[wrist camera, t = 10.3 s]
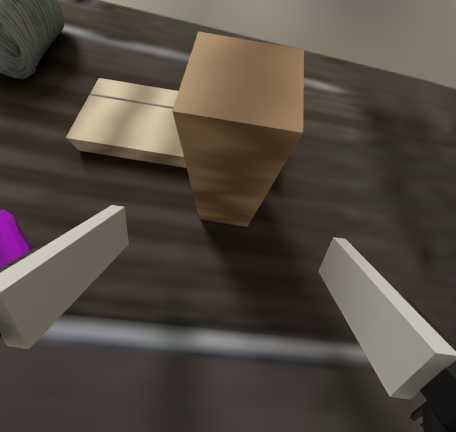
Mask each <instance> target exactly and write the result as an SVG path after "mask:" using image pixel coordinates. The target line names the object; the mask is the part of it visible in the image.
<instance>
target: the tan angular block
mask: <svg viewBox="0 0 456 432" xmlns="http://www.w3.org/2000/svg"><path fill="white" fill-rule="evenodd" d="M303 88H304V50H303V49H297V48H291V47H285V46H279V45H274V44H268V43H262V42H256V41H250V40H244V39H239V38H233V37H227V36H221V35H215V34H209V33H203V32H198V35H197V38H196V41H195V44H194V47H193V50H192V53H191V56H190V59H189V62H188V65H187V68H186V71H185V74H184V77H183V80H182V83H181V86H180V89H179V92H178V95H177V98H176V101H175V104H174V107H173V110H172V112H173V116H174V120H175V124H176V128H177V132H178V136H179V139H180V143H181V147H182V151H183V155H184V159H185V163H186V167H187V171H188V175H189V179H190V183H191V187H192V191H193V195H194V199H195V203H196V207H197V211H198V214H199V218H200V219H201V220H207V221H213V222H220V223H226V224H232V225H239V226H245V227H248V225H249V223H250V222H251V220H252V218H253V216H254V215H255V213H256V211H257V210H258V208H259V206H260V205H261V203H262V201H263V200H264V198H265V196H266V194H267V193H268V191H269V189H270V188H271V186H272V184H273V183H274V181H275V179H276V178H277V176H278V174H279V173H280V171H281V169H282V167H283V166H284V164H285V162H286V161H287V159H288V157H289V156H290V154H291V152H292V151H293V149H294V147H295V145H296V144H297V142H298V140H299V139H300V137H301V135H302V134H303Z"/></svg>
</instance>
